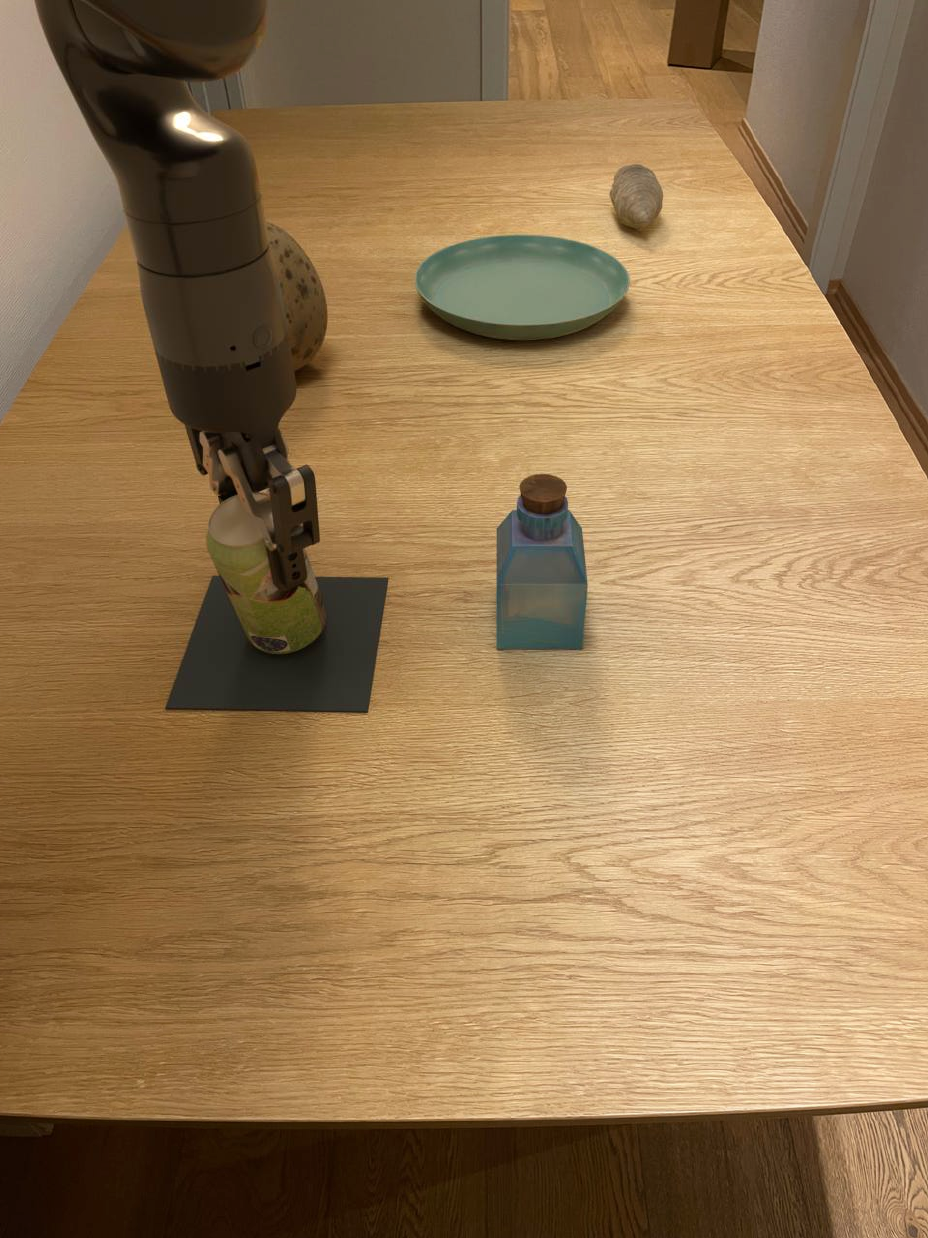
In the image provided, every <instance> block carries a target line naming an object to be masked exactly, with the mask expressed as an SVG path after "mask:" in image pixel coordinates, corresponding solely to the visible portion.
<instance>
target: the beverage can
mask: <svg viewBox="0 0 928 1238" xmlns="http://www.w3.org/2000/svg"><path fill="white" fill-rule="evenodd" d="M253 496H254V498H255V500H256V501H259V500H261V499H264V498H266V497H268V495H267V492H263V491H260V492H257V493H253ZM269 518H270V520H271V523H272V526H273V528H274V525H273V517H272V512H271V513H270V515H269ZM205 539H206V540H205V543H206V547H207V551H208V554H209V556H210V558H211V560H212V563H213V565H214V567H215V569H216V571H217V574H218V576H220V578H221V580H222V582H223V585H224V587H225V589H226V591H227V593H228V596H229V598H230V600H231V602H232V604H233V607H234V609H235V611H236V613H237V615H238V618H239V620H240V622H241V624H242V626H243V629H244V631H245V633H246V635H247V637H248V639H249V641H250V642H251V643H252V644H253V646H254V647H256V648H257V649H259V650H261V651H263V652H266V653H271V654H286V653H291V652H294V651H297V650H300V649H302V648H304V647H306V646H307V645H309V644H310V643H312V642H313V641H314V640H315V639H316V638H317V637H318V636H319V635H320V633H321V632H322V630H323V628H324V627H325V623H326V619H327V612H326V608H325V605H324V602H323V599H322V596H321V593H320V590H319V587H318V584H317V581H316V579H315V577H316V576H315V573H314V570H313V567H312V563H311V561H310V559H309V556H308V553H307V550H306V548H304V549H303V552H304V558H305V564H306V569H307V579H306V580H305V581H304V582H303V583H301V584H299V585H297V586H295V587H293V588H291V589H288V590H286V591H280V590H279V589H278V588H277V587H276V586H275V585H274V584H273V580H272V575H271V570H270V566H269V561H268V556H267V551H266V546H265V543H264V538H263V536H262V533H261V530H260V528H259V525H258V523H257V520H256V518H255V517H252V516H248V515H247V514H246V513H245V511H244V508H243V506H242V503H241V501H240V498H239V495H235V496H233V497H230V498H228V499H227V500H225V501H223V502H222V503H221V504H220V503H219V504H218V505H217V506H216V507H214V510H213V511H212V512H211V514H210V516H209V518H208V522H207V533H206V537H205Z"/></svg>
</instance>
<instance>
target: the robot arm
mask: <svg viewBox="0 0 928 1238" xmlns="http://www.w3.org/2000/svg"><path fill="white" fill-rule="evenodd" d="M33 1H34V5H35V10H36V14H37V18H38V21H39V24H40V26H41V29H42V33H43V35H44V37H45V39H46V42H47V44H48V47H49V50H50V51H51V54H52V56H53V58H54V60H55V63H56V65H57V67H58V69H59V71H60V73H61V75H62V77H63V79H64V81H65V83H66V85H67V87H68V89H69V91H70V93H71V95H72V97H73V99H74V101H75V103H76V106H77V108H78V109H79V111H80V113H81V115H82V118H83V120H84V121H85V123H86V125H87V128H88V130H89V132H90V133H91V136H92V137H93V140H94V142H95V143H96V145H97V146H98V148H99V150H100V152H101V154H102V155H103V158H104V159H105V161H106V162H107V164H108V166H109V168H110V170H111V171H112V173H113V176H114V177H115V180H116V182H117V186H118V190H119V196H120V200H121V205H122V209H123V214H124V217H125V221H126V222H125V223H126V225H127V229H128V233H129V237H130V240H131V244H132V249H133V253H134V256H135V257H134V258H135V260H136V264H137V269H138V277H139V287H140V296H141V301H142V305H143V306H142V307H143V310H144V314H145V318H146V321H147V325H148V326H147V327H148V330H149V333H150V337H151V341H152V345H153V349H154V353H155V357H156V360H157V365H158V368H159V372H160V376H161V380H162V383H163V387H164V391H165V395H166V399H167V402H168V407H169V409H170V410H169V411H170V412H171V414H173V416H174V418H176V420H178V421H179V422H180V423H182V424H183V425H184V428H185V432H186V434H187V438H188V441H189V444H190V447H191V452H192V456H193V459H194V461H195V467H196V470H197V471H198V472H199V473H200V475H201V476H203V477H204V476H207V475H208V476H209V479H208V481H209V487H210V490H211V492H213V494H214V495H215V496H217V499H218V503H219V505H220V504H221V503H222V502H223V501H225V500H227V499H228V498H230V497H233V496H235V495H239V498H240V501H241V503H242V506H243V508H244V511H245V513H246V514H247V515H248V516H252V517H255V518H256V520H257V523H258V525H259V528H260V530H261V533H262V536H263V538H264V543H265V546H266V551H267V556H268V561H269V566H270V570H271V575H272V580H273V584H274V585H275V586H276V587H277V588H278V589H279V590H280V591H286V590H288V589H291V588H293V587H295V586H297V585H299V584H301V583H303V582H304V581H305V580H306V579H307V569H306V564H305V558H304V552H303V549H304V548H305V549H306V548H308V547H311V546H314V545H316V544H318V543H320V542H321V534H320V522H319V520H320V519H319V508H318V496H317V482H316V475H315V473H314V470H313V469H312V468H311V466H310V465H309V464H304V465H301V466H299V467H297V468H295V467H294V466H293V465H292V464H291V463H290V460H289V453H290V450H289V447H288V444H287V441H286V439H285V436H284V434H283V431H282V430H281V429H280V428H279V425H280V422H281V420H282V418H283V417H284V416H285V414H286V413H287V411H288V410H289V409H290V408H291V407H292V405H294V402H295V400H296V397H297V388H298V387H297V381H296V375H295V371H294V368H293V361H292V355H291V348H290V342H289V335H288V329H287V324H286V317H285V310H284V304H283V297H282V291H281V286H280V281H279V277H278V274H277V270H276V267H275V264H274V261H273V257H272V254H271V249H270V244H269V239H268V232H267V226H266V222H267V221H266V220H267V219H266V215H265V209H264V208H265V207H264V202H263V196H262V189H261V183H260V177H259V171H258V167H257V162H256V158H255V155H254V151H253V149H252V147H251V144H250V143H249V142H248V140H247V139H246V138H245V136H243V135H242V134H241V133H240V132H239V131H237V130H236V129H235V128H233V127H231V126H230V125H228V124H226V123H224V122H223V121H221V120H220V119H218V118H216V117H214V116H212V115H210V114H209V113H208V112H207V111H205V110H204V109H203V108H202V107H201V106H200V105H199V104H198V102H196V100H195V99H194V97H193V94H192V93H191V91H190V89H189V86H188V84H187V83H186V82H190V83H208V82H209V83H210V82H215V81H220V80H224V79H227V78H228V77H231V76H233V75H234V74H236V73H238V72H239V71H240V70H242V69H243V68H244V67H245V66H246V65H247V64H248V63H249V62H250V61H251V59H252V58H253V57H254V55H255V54H256V52H257V51H258V50H259V48H260V45H261V44H262V41H263V38H264V35H265V31H266V28H267V27H266V26H267V19H268V5H269V4H268V0H33ZM265 490H266V493H267V495H268V497H266V498H264V499H261V500H259V501H256V500H255V498H254V496H253V493H257V492H263V491H265ZM271 512H272V517H273V525H274V528H273V526H272V523H271V520H270V518H269V515H270V513H271Z"/></svg>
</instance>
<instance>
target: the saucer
mask: <svg viewBox="0 0 928 1238" xmlns="http://www.w3.org/2000/svg"><path fill="white" fill-rule="evenodd" d="M630 284H631V278H630V273H629V272H628V270H627V268H626V267H625V266H624V264H623V263H622V262H621V261H620V260H619V259H617V258H616V257H615V256H613V255H612V254H610V253H609V252H607V251H605V250H603V249H600V248H598V247H596V246H594V245H591V244H587V243H584V242H581V241H577V240H573V239H570V238H569V239H568V238H564V237H560V236H559V237H558V236H552V235H551V236H550V235H541V234H517V233H516V234H502V235H501V234H499V235H491V236H489V235H488V236H484V237H477V238H473V239H467V240H464V241H460V242H457V243H453V244H450V245H448V246H446V247H444V248H441V249H439V250H438V251H435V252H434V253H432V254H430V255H429V256H427V257H426V258H425V259H424V260H423V261H422V262H421V263H420V264H419V265H418V267H417V268H416V271H415V273H414V285H415V288H416V290H417V293H418V295H419V297H420V298H421V299H422V300H423V302H424V303H425V304H426V306H427V307H428V308H429V309H430V310H432V312H434V314H435V315H436V316H438V317H439V318H441V319H442V320H444V321H445V322H447V323H449V324H450V325H452V326H454V327H456V328H458V329H460V330H462V331H466V332H468V333H470V334H474V335H478V336H483V337H485V338H486V337H487V338H491V339H497V340H505V341H538V340H547V339H548V340H549V339H553V338H559V337H564V336H568V335H571V334H574V333H577V332H579V331H583V330H585V329H586V328H588V327H591V326H593V325H594V324H597V323H598V322H599V321H601V320H602V319H604V318H605V317H607V316H608V315H610V314H611V312H613V311H614V310H615V309H616V308H617V307H618V306H619V305H620V304H621V302H622V301H623V299H624V298H625V296H626V294H627V293H628V291H629V288H630Z"/></svg>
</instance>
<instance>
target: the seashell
mask: <svg viewBox="0 0 928 1238" xmlns="http://www.w3.org/2000/svg"><path fill="white" fill-rule="evenodd" d="M608 195H609V198H610V201H611V204H612V206H613V207H614V210H615V212H616V214H617V216H618V218H619V220H620V222H621V223H622V224H623V225H625V226H626V227H629V228H632V229H643V228H645V227H648V226H649V225H651V224H653V223H654V222H655V221H656V219H657V218H658V217H659V215H660V214H661V211H662V209H663V203H664V202H663V201H664V192H663V187H662V186H661V184H660V182H659V180H658V178H657V176H656V174H655V172H654V171H653V170H651V169H650V168H648V167H646V166H645V165H642V164H638V163H632V164H629V165H628V164H627V165H623V166H621V167H620V168H619V169H618V170H616V172H615V174H614V176H613V182H612V184H611V188H610V191H609V194H608Z"/></svg>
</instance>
